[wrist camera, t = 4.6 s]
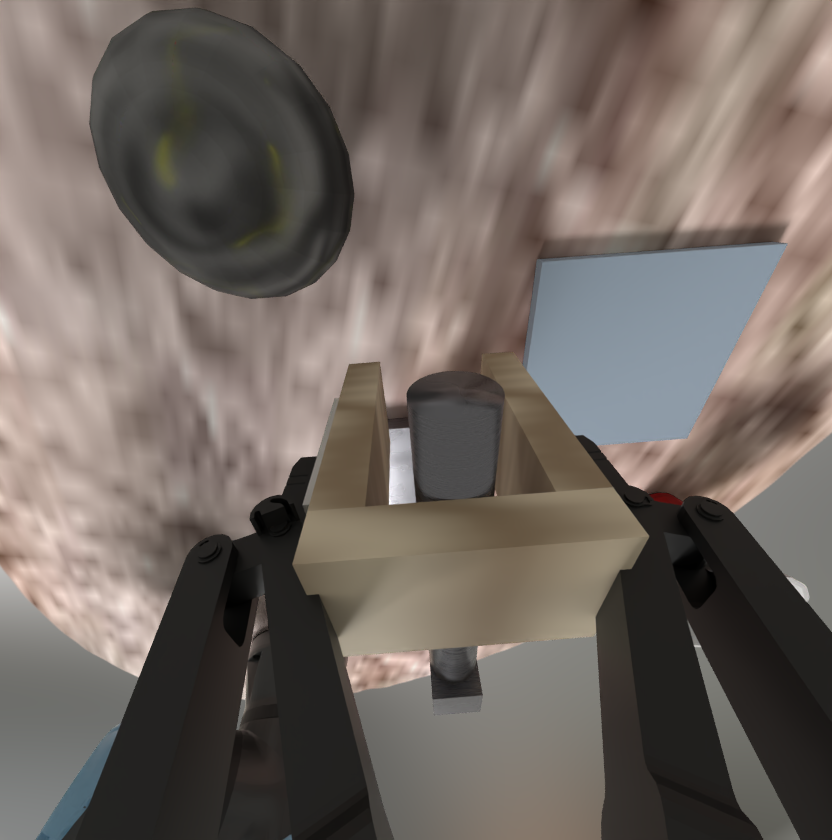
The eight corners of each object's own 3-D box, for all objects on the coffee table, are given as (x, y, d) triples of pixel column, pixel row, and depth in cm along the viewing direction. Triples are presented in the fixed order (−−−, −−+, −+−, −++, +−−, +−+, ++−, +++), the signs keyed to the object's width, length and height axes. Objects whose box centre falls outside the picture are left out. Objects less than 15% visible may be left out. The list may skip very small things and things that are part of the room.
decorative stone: (397, 175, 19) (397, 161, 11) (307, 308, 23) (257, 371, 15) (229, -4, 15) (27, -241, 7) (155, 194, 19) (-29, 195, 11)
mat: (511, 444, 31) (514, 451, 30) (537, 259, 22) (542, 261, 21) (679, 431, 31) (687, 438, 30) (773, 241, 22) (787, 243, 21)
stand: (382, 499, 34) (371, 740, 19) (343, 273, 22) (222, 453, 7) (477, 491, 34) (541, 726, 19) (492, 262, 22) (708, 415, 7)
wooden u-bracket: (364, 444, 19) (336, 657, 10) (348, 364, 16) (292, 564, 7) (503, 433, 19) (594, 636, 10) (512, 351, 16) (649, 536, 7)
